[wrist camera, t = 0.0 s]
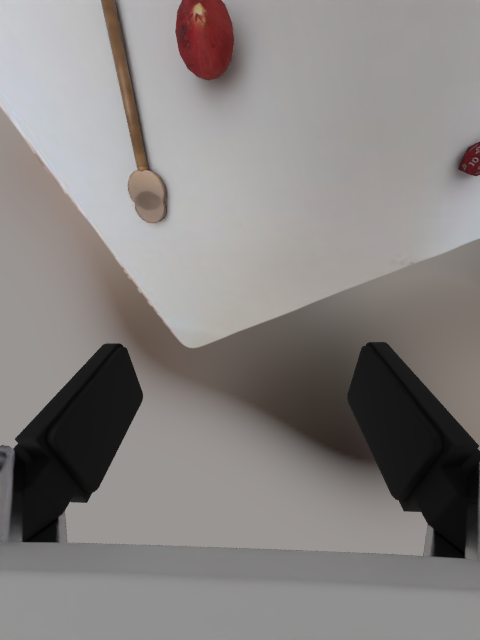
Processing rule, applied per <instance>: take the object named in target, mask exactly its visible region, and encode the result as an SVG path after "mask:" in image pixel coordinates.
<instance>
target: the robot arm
mask: <svg viewBox="0 0 480 640" xmlns="http://www.w3.org/2000/svg"><path fill="white" fill-rule="evenodd" d="M142 399H143V393H142V390H141V387H140V384H139V381H138V379H137V376H136V373H135V370H134V367H133V365H132V362H131V359H130V356H129V354H128V350H127V348H125V347H123V345H121V344H104V345H103V346H102V347H101V348H100V349H99V350H98V351H97V352H96V353H95V354H94V355H93V356H92V357H91V358H90V359H89V360H88V362H87V363H86V364H85V365H84V366H83V367H82V368H81V369H80V370H79V371H78V372H77V373H76V374H75V375H74V376H73V377H72V379H71V380H70V381H69V382H68V383H67V384H66V385H65V386H64V387H63V388H62V389H61V390H60V392H58V393H57V395H56V396H55V397H54V398H53V399H52V400H51V401H50V402H49V403H48V404H47V405H46V406H45V407H44V409H43V410H42V411H41V412H40V413H39V414H38V415H37V416H36V417H35V418H34V419H33V420H32V422H30V424H29V425H28V426H27V427H26V428H25V429H24V430H23V431H22V432H21V433H20V434H19V435H18V436H17V437H16V438H15V440H16V441H17V442H18V444H17V445H16V446H15V448H14V449H12V448H11V447H10V446H4V445H2V446H0V640H480V451H479V450H478V449H477V448H478V447H479V445H478V444H477V443H476V442H475V441H474V440H473V438H472V437H471V436H470V435H469V434H468V433H467V432H466V431H465V430H464V429H463V427H462V426H461V425H460V424H459V423H458V422H457V421H456V420H455V419H454V418H453V416H452V415H451V414H450V413H449V412H448V411H447V410H446V408H444V406H443V405H442V404H441V403H440V402H439V401H438V400H437V398H436V397H435V396H434V395H433V394H432V393H431V392H430V391H429V389H427V387H426V386H425V385H424V384H423V383H422V382H421V381H420V380H419V378H418V377H417V376H416V375H415V374H414V373H413V372H412V371H411V369H410V368H409V367H408V366H407V365H406V364H405V363H404V362H403V361H402V359H401V358H400V357H399V356H398V355H397V354H396V353H395V352H394V351H393V349H392V348H391V347H390V346H389V345H388V344H387V343H385V342H369V343H367V344H366V346H363V347H362V349H361V352H360V355H359V358H358V362H357V365H356V368H355V371H354V375H353V378H352V382H351V385H350V388H349V391H348V403H349V405H350V407H351V409H352V411H353V414H354V416H355V418H356V420H357V422H358V424H359V426H360V429H361V431H362V433H363V435H364V437H365V439H366V441H367V443H368V445H369V448H370V450H371V452H372V454H373V456H374V458H375V461H376V463H377V465H378V467H379V469H380V471H381V473H382V476H383V478H384V480H385V482H386V484H387V486H388V489H389V491H390V493H391V495H392V496H393V497H394V498H395V499H396V500H399V502H400V504H401V506H402V508H403V510H404V511H413V512H422V514H423V516H424V518H425V519H426V521H427V523H428V526H427V534H426V540H425V546H424V553H423V556H413V555H397V554H376V553H351V552H327V551H302V550H277V549H249V548H221V547H191V546H190V547H189V546H162V545H128V544H97V543H96V544H95V543H67V531H66V519H65V509H66V507H67V506H68V504H69V502H82V503H87V502H88V500H89V498H90V496H91V494H92V492H95V491H96V490H97V489H98V488H99V486H100V484H101V482H102V480H103V478H104V476H105V474H106V472H107V470H108V468H109V466H110V464H111V462H112V460H113V458H114V456H115V454H116V452H117V450H118V448H119V446H120V444H121V442H122V440H123V438H124V436H125V434H126V432H127V430H128V428H129V426H130V424H131V422H132V420H133V418H134V416H135V414H136V412H137V410H138V408H139V406H140V404H141V402H142Z"/></svg>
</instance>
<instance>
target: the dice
mask: <svg viewBox="0 0 480 640" xmlns="http://www.w3.org/2000/svg"><path fill="white" fill-rule="evenodd" d="M459 170H461V171H463V172H465V173H467V174H470V175H474V176H478V175H480V142H478V143H476V144H474V145H472V146H471V147H469V148H468V149H467V151H466V153H465V156H464V158H463V160H462V162H461V164H460V167H459Z"/></svg>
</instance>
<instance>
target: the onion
mask: <svg viewBox="0 0 480 640" xmlns="http://www.w3.org/2000/svg"><path fill="white" fill-rule="evenodd" d="M176 37H177V43H178V48H179V52H180V55H181V57H182V59H183V61H184V62H185V64H186V66H187V68H188V69H189V70H190V71H191V72H193V73H194V74H195V75H196V76H197V77H199V78H203V79H206V80H212V79H216V78H218V77H219V76H220V75H222V74H223V73H224V72H225V71H226V69H227V67H228V65H229V63H230V61H231V59H232V52H233V45H234V36H233V27H232V22H231V19H230V17H229V14H228V12H227V9H226V6H225V4H224V3H223V2H222V1H221V0H182V2H181V4H180V6H179V9H178V11H177V21H176Z"/></svg>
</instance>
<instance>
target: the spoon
mask: <svg viewBox="0 0 480 640" xmlns="http://www.w3.org/2000/svg"><path fill="white" fill-rule="evenodd" d="M101 3H102V7H103V12H104V17H105V21H106V26H107V30H108V35H109V40H110V44H111V49H112V53H113V58H114V63H115V67H116V72H117V77H118V81H119V86H120V90H121V95H122V100H123V104H124V109H125V114H126V118H127V123H128V127H129V132H130V137H131V141H132V146H133V150H134V155H135V160H136V164H137V169H138V170H137V171H135V172H133V173H132V174H131V176H130V178H129V181H128V191H129V194H130V197H131V199H132V200H133V202H134V203H135V209H136V211H137V213H138V215H139V216H140V217H141V218H142V219H143V220H145V221H146V222H149V223H156V222H159V221H161V220H162V219H163V218H164V217H165V215H166V210H167V208H166V203H165V200H166V187H165V184H164V182H163V181H162V179H161V178H160V177H159V176H158V175H157V174H156V173H154V172H152V171H150V170H148V166H147V161H146V156H145V151H144V146H143V141H142V135H141V130H140V125H139V120H138V115H137V110H136V105H135V100H134V95H133V90H132V85H131V80H130V74H129V69H128V64H127V59H126V54H125V49H124V44H123V39H122V34H121V29H120V24H119V19H118V13H117V8H116V3H115V0H101Z"/></svg>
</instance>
